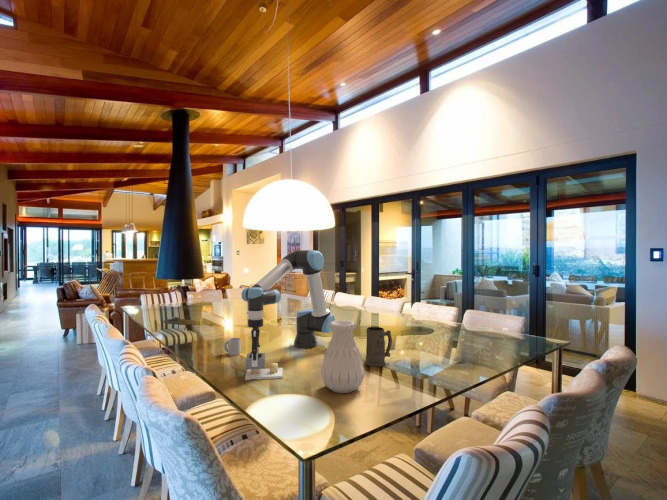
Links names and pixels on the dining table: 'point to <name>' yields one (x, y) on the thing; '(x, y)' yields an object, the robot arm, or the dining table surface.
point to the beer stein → (377, 346)
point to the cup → (233, 346)
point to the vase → (342, 359)
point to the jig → (265, 373)
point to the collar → (260, 361)
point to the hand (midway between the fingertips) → (255, 363)
